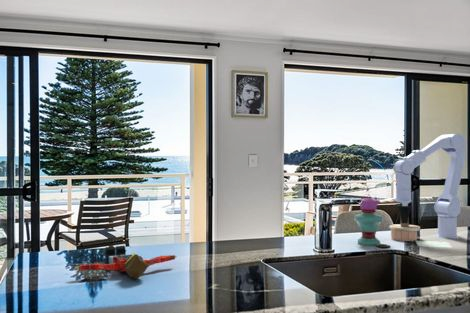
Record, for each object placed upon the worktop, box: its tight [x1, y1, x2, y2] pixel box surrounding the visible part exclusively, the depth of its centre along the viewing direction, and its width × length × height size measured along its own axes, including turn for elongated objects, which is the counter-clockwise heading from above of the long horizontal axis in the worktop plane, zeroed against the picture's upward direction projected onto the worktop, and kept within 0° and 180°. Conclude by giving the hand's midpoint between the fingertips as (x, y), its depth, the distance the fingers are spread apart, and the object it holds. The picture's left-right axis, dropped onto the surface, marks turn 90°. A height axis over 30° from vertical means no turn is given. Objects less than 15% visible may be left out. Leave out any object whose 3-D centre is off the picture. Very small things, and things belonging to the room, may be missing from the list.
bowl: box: [390, 229, 418, 242], centre depth 188 cm, size 10×10×4 cm
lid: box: [388, 218, 421, 232], centre depth 188 cm, size 12×12×5 cm
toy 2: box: [354, 197, 384, 247], centre depth 180 cm, size 11×11×18 cm
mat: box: [415, 240, 454, 249], centre depth 176 cm, size 12×12×1 cm
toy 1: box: [74, 245, 178, 281], centre depth 140 cm, size 31×8×30 cm
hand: (403, 221), depth 188 cm, fingers open, 7 cm apart
